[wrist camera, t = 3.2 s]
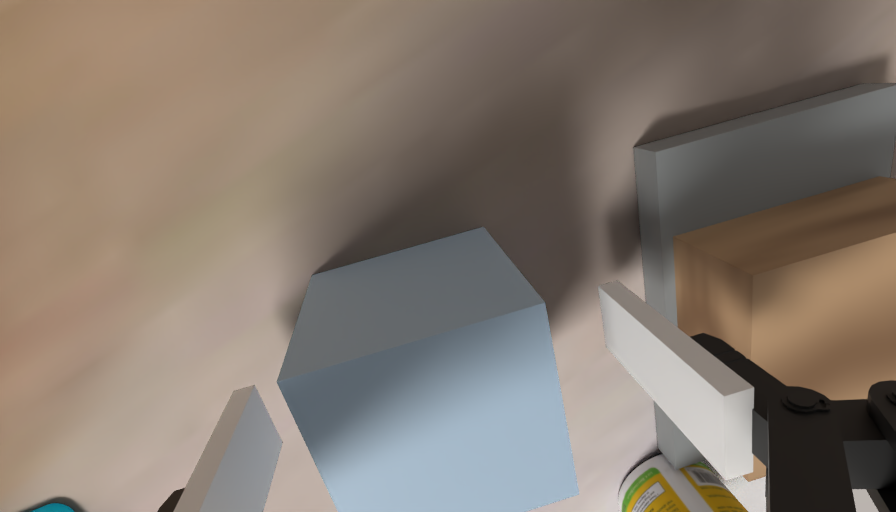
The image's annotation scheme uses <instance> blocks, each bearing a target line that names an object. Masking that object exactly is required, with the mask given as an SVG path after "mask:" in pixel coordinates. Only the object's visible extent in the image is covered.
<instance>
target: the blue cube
mask: <svg viewBox="0 0 896 512" xmlns="http://www.w3.org/2000/svg"><path fill="white" fill-rule="evenodd" d="M277 384H278V386H279V388H280V390H281V392H282V394H283V396H284V398H285V401H286V403H287V405H288V407H289V409H290V411H291V413H292V415H293V417H294V420H295V422H296V424H297V426H298V428H299V430H300V432H301V434H302V437H303V439H304V441H305V443H306V445H307V447H308V449H309V451H310V453H311V456H312V458H313V460H314V462H315V464H316V466H317V468H318V470H319V473H320V475H321V477H322V479H323V481H324V483H325V485H326V487H327V489H328V492H329V494H330V496H331V498H332V500H333V502H334V504H335V506H336V509H337V511H338V512H526V511H529V510H532V509H536V508H539V507H542V506H545V505H548V504H551V503H554V502H557V501H560V500H563V499H566V498H569V497H573V496H576V495H579V490H578V484H577V478H576V473H575V467H574V462H573V456H572V450H571V445H570V439H569V433H568V428H567V422H566V417H565V411H564V405H563V400H562V394H561V389H560V383H559V377H558V372H557V366H556V360H555V355H554V349H553V344H552V338H551V332H550V327H549V321H548V315H547V310H546V304H545V302H544V300H543V299H542V298H541V297H540V296H539V294H538V293H537V292H536V291H535V289H534V288H533V287H532V286H531V284H530V283H529V282H528V281H527V280H526V278H525V277H524V276H523V275H522V273H521V272H520V271H519V270H518V269H517V267H516V266H515V265H514V264H513V262H512V261H511V260H510V259H509V257H508V256H507V255H506V254H505V253H504V251H503V250H502V249H501V248H500V246H499V245H498V244H497V243H496V241H495V240H494V239H493V238H492V237H491V235H490V234H489V233H488V232H487V230H486V229H485V228H484V227H481V228H477V229H474V230H470V231H466V232H463V233H459V234H456V235H452V236H449V237H445V238H442V239H438V240H435V241H431V242H428V243H424V244H420V245H417V246H413V247H410V248H406V249H403V250H399V251H396V252H392V253H389V254H385V255H381V256H378V257H374V258H371V259H367V260H364V261H360V262H357V263H353V264H350V265H346V266H343V267H339V268H335V269H332V270H328V271H325V272H321V273H318V274H314V275H312V277H311V280H310V283H309V286H308V289H307V292H306V295H305V298H304V301H303V304H302V307H301V310H300V313H299V316H298V319H297V322H296V325H295V328H294V331H293V334H292V337H291V340H290V343H289V346H288V349H287V353H286V356H285V359H284V362H283V365H282V368H281V371H280V374H279V377H278V380H277Z"/></svg>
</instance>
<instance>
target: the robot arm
mask: <svg viewBox="0 0 896 512" xmlns="http://www.w3.org/2000/svg"><path fill="white" fill-rule="evenodd" d="M598 290H599V298H600V305H601V313H602V321H603V328H604V336H605V343H606V348H607V349H608V350H609V351H610V352H611V353H612V354H613V355H614V356H615V358H616V359H617V360H618V361H619V362H620V363H621V364H622V365H623V366H624V368H625V369H626V370H627V371H628V372H629V373H630V374H631V375H632V377H633V378H634V379H635V380H636V381H637V382H638V383H639V384H640V385H641V387H642V388H643V389H644V390H645V391H646V392H647V393H648V394H649V396H650V397H651V398H652V399H653V400H654V401H655V402H656V403H657V404H658V406H659V407H660V408H661V409H662V410H663V411H664V412H665V413H666V415H667V416H668V417H669V418H670V419H671V420H672V421H673V422H674V423H675V425H676V426H677V427H678V428H679V429H680V430H681V431H682V432H683V434H684V435H685V436H686V437H687V438H688V439H689V440H690V441H691V442H692V444H693V445H694V446H695V447H696V448H697V449H698V450H699V451H700V452H701V454H702V455H703V456H704V457H705V458H706V459H707V460H708V461H709V463H710V464H711V465H712V466H713V467H714V468H715V469H716V470H717V471H718V473H719V474H720V475H721V476H722V477H723V478H724V479H725V480H729V479H733V478H736V477H739V476H742V475H745V474H749V473H752V472H753V455H755V456H756V457H757V458H758V459H759V460H760V461H761V462H762V463H763V464H764V465H765V466H766V492H765V497H766V512H856V508H855V503H854V497H853V492H852V489H866V490H867V492H868V493H869V495H870V497H871V499H872V500H873V502H874V504H875V506H876V507H877V509H878V511H879V512H896V381H895V380H889V381H880V382H877V383H875V384H873V385H871V387H870V389H869V391H868V398H867V399H854V400H830V399H829V398H827V397H826V396H825V395H823V394H821V393H819V392H817V391H814V390H812V389H808V388H804V387H799V386H786V385H785V384H783V383H782V382H780V381H779V380H778V379H776V378H775V377H773V376H772V375H771V374H769V373H768V372H766V371H765V370H764V369H762V368H761V367H759V366H758V365H757V364H755V363H754V362H752V361H751V360H750V359H746V357H745V356H744V355H743V354H741V353H740V352H738V351H735V349H734V348H733V347H731V346H730V345H729V344H727V343H726V342H724V341H723V340H722V339H719V338H717V337H714V336H711V335H708V334H706V333H701V334H697V335H694V336H691V337H689V336H688V335H686V334H685V333H684V332H683V331H681V330H680V329H679V328H677V327H676V326H675V325H674V324H672V323H671V322H670V321H669V320H667V319H666V318H665V317H663V316H662V315H661V314H660V313H658V312H657V311H656V310H654V309H653V308H652V307H651V306H649V305H648V304H647V303H646V302H644V301H643V300H642V299H640V298H639V297H638V296H637V295H635V294H634V293H633V292H631V291H630V290H629V289H628V288H626V287H625V286H624V285H622V284H621V283H620V282H619V281H613V282H610V283H606V284H603V285H599V286H598ZM282 443H283V442H282V440H281V438H280V436H279V434H278V432H277V430H276V428H275V426H274V424H273V422H272V420H271V418H270V416H269V413H268V411H267V409H266V407H265V405H264V403H263V401H262V399H261V397H260V395H259V393H258V391H257V389H256V387H255V385H253V386H249V387H246V388H242V389H239V390H235V391H233V393H232V395H231V397H230V399H229V401H228V403H227V405H226V407H225V409H224V411H223V413H222V415H221V417H220V419H219V421H218V423H217V425H216V427H215V429H214V431H213V433H212V435H211V437H210V439H209V441H208V443H207V445H206V447H205V449H204V451H203V453H202V455H201V457H200V459H199V461H198V463H197V465H196V467H195V469H194V471H193V473H192V475H191V477H190V479H189V481H188V483H187V485H186V487H185V488H183V489H180V490H176V491H174V492H173V493H172V494H171V496H170V497H169V498H168V499H167V500H166V501H165V502H164V503H163V505H162V506H161V507H160V508H159V510H158V512H263V510H264V506H265V503H266V499H267V496H268V492H269V489H270V485H271V482H272V478H273V475H274V471H275V468H276V464H277V461H278V457H279V454H280V450H281V447H282Z"/></svg>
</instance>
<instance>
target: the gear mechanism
mask: <svg viewBox="0 0 896 512" xmlns="http://www.w3.org/2000/svg"><path fill="white" fill-rule="evenodd" d="M31 512H74V511H73V510H72V509H71V508H70V507H69V506H67V505H64V504H60V503H52V504H48V505H45V506H43V507H40V508H38V509H35V510H33V511H31Z"/></svg>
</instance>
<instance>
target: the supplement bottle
mask: <svg viewBox="0 0 896 512" xmlns="http://www.w3.org/2000/svg"><path fill="white" fill-rule="evenodd" d="M618 507H619V511H620V512H748V511H747V510H746V509H745V508H744V507H743V505H742V504H741V503H740V502H739V501H738V500H737V499H736V498H735V496H734V495H733V494H732V493H731V492H730V491H729V490H728V489H727V488H726V486H725V485H724V484H723V483H722V482H721V481H720V480H719V479H718V477H717V476H716V475H715V474H714V473H713V472H712V471H711V470H710V469H709V468H708V467H707V466H706V465H705V464H704V463H703V462H702V461H701V462H698V463H695V464H692V465H689V466H686V467H683V468H680V469H677V470H675V469H674V467H673V466H672V465H671V464H670V462H669V461H668V460H667V458H666V457H665V456H664V455H663V454H661V455H658V456H655V457H653V458H651V459H649V460H647V461H645V462H644V463H642V464H641V465H640V466H638V467H637V468H636V469H635V470H634V471H632V472H631V474H630V475H629V476H628V477H627V478H626V480H625V481H624V483H623V484H622V486H621V489H620V491H619V496H618Z"/></svg>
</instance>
